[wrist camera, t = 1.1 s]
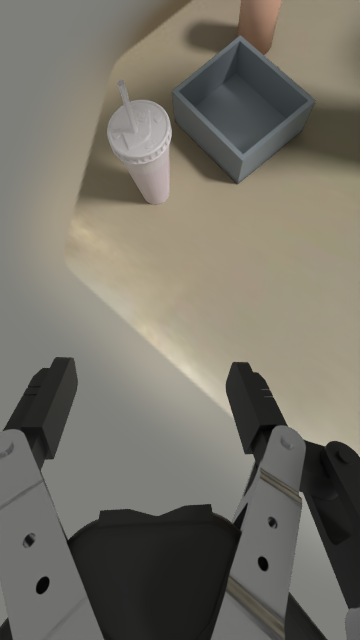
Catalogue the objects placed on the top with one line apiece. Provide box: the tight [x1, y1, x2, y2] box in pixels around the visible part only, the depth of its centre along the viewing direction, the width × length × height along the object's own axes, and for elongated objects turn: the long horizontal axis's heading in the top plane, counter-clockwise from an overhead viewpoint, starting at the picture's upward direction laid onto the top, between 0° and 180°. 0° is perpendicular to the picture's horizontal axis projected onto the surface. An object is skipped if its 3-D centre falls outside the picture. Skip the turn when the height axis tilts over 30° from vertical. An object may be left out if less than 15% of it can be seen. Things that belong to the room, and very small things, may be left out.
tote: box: [172, 35, 316, 184], centre depth 31 cm, size 13×11×4 cm
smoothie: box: [107, 80, 172, 205], centre depth 26 cm, size 6×6×14 cm
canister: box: [237, 0, 282, 55], centre depth 31 cm, size 5×5×7 cm
